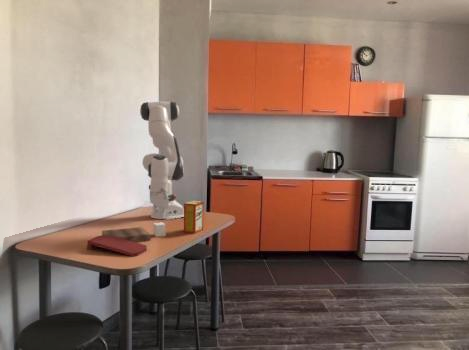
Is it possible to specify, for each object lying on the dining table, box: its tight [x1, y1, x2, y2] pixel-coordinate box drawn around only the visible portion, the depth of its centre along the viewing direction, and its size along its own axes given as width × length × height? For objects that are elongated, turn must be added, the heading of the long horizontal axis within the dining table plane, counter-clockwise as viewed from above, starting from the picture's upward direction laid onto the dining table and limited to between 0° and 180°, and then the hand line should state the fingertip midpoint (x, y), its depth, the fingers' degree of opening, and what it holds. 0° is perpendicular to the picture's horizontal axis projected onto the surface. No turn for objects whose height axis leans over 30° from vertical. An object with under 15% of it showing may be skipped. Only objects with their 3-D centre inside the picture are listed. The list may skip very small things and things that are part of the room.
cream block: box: [152, 221, 167, 238], centre depth 208 cm, size 5×5×6 cm
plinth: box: [101, 226, 152, 243], centre depth 201 cm, size 20×16×3 cm
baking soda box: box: [183, 200, 204, 235], centre depth 218 cm, size 10×6×16 cm
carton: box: [86, 234, 147, 257], centre depth 181 cm, size 12×5×25 cm
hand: (159, 214), depth 207 cm, fingers open, 8 cm apart
